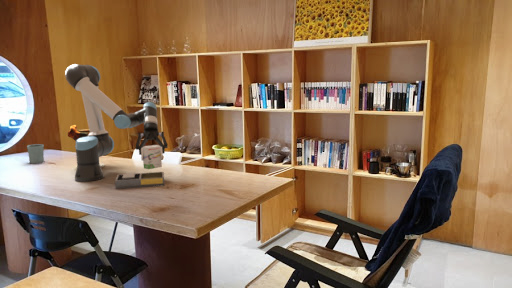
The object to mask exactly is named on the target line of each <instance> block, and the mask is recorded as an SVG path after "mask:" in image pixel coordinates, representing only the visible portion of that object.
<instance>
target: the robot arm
mask: <svg viewBox="0 0 512 288" xmlns="http://www.w3.org/2000/svg"><path fill="white" fill-rule="evenodd" d="M64 72H65V73H64V77H65V80H66V81H67V83H68V85H70V86H71V87H72V88H73V89H74V90H76V91H78V92H80V93H81V98H82V102H83V106H84V111H85V117H86V121H87V126H88V130H89V131H90V133H89V134H88V137H82V138H79V139H77V140H76V141H75V154H76V155H75V156H76V165H77V166H76V167H77V169H76V168H75V173H74V180H75V181H76V182H93V181H98V180H102V179H103V178H104V171H103V170H102V167H100V164H101V163H100V158H101V157H103V156H107V155H109V154H110V153H112V152H113V150H114V147H115V141H114V139H113V138H112V137H111V136H110V134H109V131H108V130H106V129H105V123H104V118H103V113H102V112H104V114H106V116H108V117H109V118H111V119H112V121H113V122H114V125H115V127H116V128H117V129H121V130H122V129H123V130H124V129H128V128H129V129H132V128H137V126H140V125H141V124H143V132H142V133H141V132H138V134H137V135H138V137H137V139H136V144H135V150H136V151H137V150H138V153H139V154H138V155H141V156H140V159H141V161H142V162H143V150H142V147H143V146H146V144H147V143H148V141H155V142H156V143H157V145H159V146H161V160H164V159H163V158H164V156H163V154H165V149H168V146H169V145H168V142H167V140H166V137H165V134H164V133H165V132H164V131H161V132H159V126H158V110H157V108H158V107H157V104H156V103H154V102H151V101H146V102H145V103H144V104H143V105H142V106H143V107H142V108H141V109H139V110H137V111H135V112H130V113H127V112H125V110H123V108H121V107H120V106H119V105H118V104H116V103H115V102H114V101H113V100H112V99H110V97H109V96H107V95H106V94H105V93H104V92H103V91H101V89H99V88H100V86H99V83H100V81H101V73H100V71H99V70H98V68H97V67H95V66H92V65H90V64H78V63H77V64H76V63H74V64H71V65H69V66H68V67H67V68H66V70H65V71H64ZM159 136H160V138H161V139H160V138H159ZM143 137H144V138H143ZM142 138H143V140H142ZM141 140H142V141H141Z"/></svg>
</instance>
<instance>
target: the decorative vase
mask: <svg viewBox="0 0 512 288" xmlns="http://www.w3.org/2000/svg"><path fill="white" fill-rule="evenodd" d="M69 129H70V130H68V132H67V137H68V138H71V139H72V140H74V141H75V142H76V140H77V139H79V138H82V137H88V134H89V133H90V131H89V129H78V127H77V125H76V124H73V125H71V126H70V128H69ZM99 164H100V167H101V168H103V167H105V164H104V163H99ZM76 169H77V168H76V167H75V170H76Z"/></svg>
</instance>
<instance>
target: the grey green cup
mask: <svg viewBox="0 0 512 288" xmlns="http://www.w3.org/2000/svg"><path fill="white" fill-rule="evenodd" d="M44 147H45V145H44V144H39V143H38V144H37V143H35V144H28V145H27V146H26V148H27V153H28V161H29V164H32V165H34V164H35V165H36V164H42V163H44V162H45V156H44V155H45V153H44V152H45V151H44V150H45V148H44Z"/></svg>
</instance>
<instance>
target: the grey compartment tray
mask: <svg viewBox="0 0 512 288" xmlns="http://www.w3.org/2000/svg"><path fill="white" fill-rule="evenodd" d="M114 182H115V183H114V185H115V190H123V189H136V188H149V187H151V188H152V187H164V186H165V173H164V171H156V172H140V173H139V172H138V173H135V172H131V173H123V174H117V176H116V178H115V181H114Z"/></svg>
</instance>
